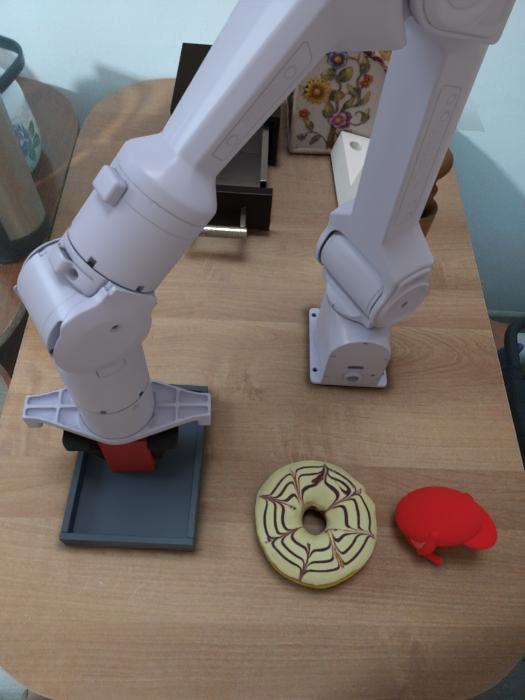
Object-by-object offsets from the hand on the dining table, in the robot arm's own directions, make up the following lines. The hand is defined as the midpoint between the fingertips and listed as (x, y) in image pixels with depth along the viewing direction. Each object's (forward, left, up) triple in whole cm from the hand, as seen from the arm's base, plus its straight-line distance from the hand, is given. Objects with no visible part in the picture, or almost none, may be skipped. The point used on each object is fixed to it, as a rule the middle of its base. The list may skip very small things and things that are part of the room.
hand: (134, 448), depth 52 cm
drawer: (+33, -6, -1) cm, 34 cm away
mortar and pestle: (+24, -27, -2) cm, 36 cm away
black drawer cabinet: (+49, -6, -2) cm, 49 cm away
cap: (-6, -28, -2) cm, 28 cm away
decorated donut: (-6, -17, -2) cm, 18 cm away
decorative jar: (+50, -20, -2) cm, 54 cm away
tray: (-1, -1, -2) cm, 2 cm away
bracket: (+38, -25, -2) cm, 45 cm away
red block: (0, 0, -1) cm, 1 cm away
